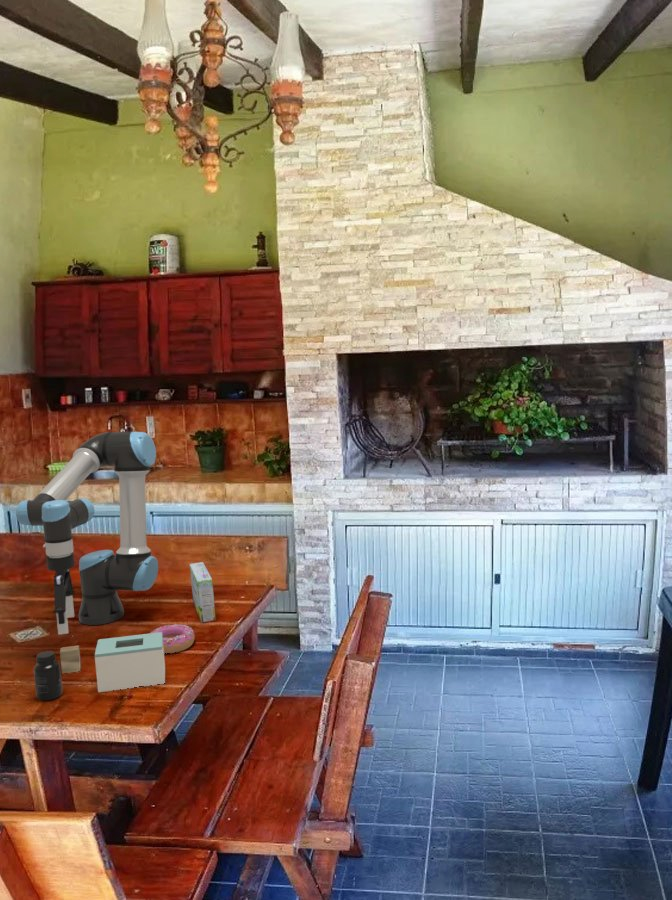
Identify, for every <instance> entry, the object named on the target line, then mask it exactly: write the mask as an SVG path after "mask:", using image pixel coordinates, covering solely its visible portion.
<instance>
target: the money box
mask: <svg viewBox="0 0 672 900" xmlns="http://www.w3.org/2000/svg"><path fill="white" fill-rule="evenodd" d="M96 643H97V644H96V647H95V652H94V662H95V664H94V665H95V674H96V683H97V684H96V685H97V692H98V693H103V692H112V691H113V690H114V691H120V689H121V690H128V689H127V688H129V689H134V687H137V688H140V687H139V686H144V687H151V686H150V685H152V686H158V685H157V684H160V685H165V684H166V663H165V662H166V660H165V654H164V647H163V635H162V632H158V633H151V632H150V633H143V634H134V635H133V634H132V635H125V636H119V637H118V636H117V637H109V638H100V639H98V640H97V642H96ZM164 683H165V684H164Z"/></svg>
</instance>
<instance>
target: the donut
mask: <svg viewBox="0 0 672 900" xmlns="http://www.w3.org/2000/svg"><path fill="white" fill-rule="evenodd" d="M158 632H162V635H163V647H164V655H166V654H167V653H170V654H176V653H180V652H183V651H185V650H187V649H189V648H190V647H191V646H192V645H193V644H194V641H195V639H196V637H195V632H194V630H193V627H192V626H188V625H186V624H177V623H176V624H175V623H173V624H172V623H171V624H165V625H162V626H160V627H157V628H155V629H153V630H151V631H150V633H158ZM175 652H176V653H175ZM165 653H166V654H165ZM167 655H168V654H167Z"/></svg>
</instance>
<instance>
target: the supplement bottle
mask: <svg viewBox="0 0 672 900" xmlns="http://www.w3.org/2000/svg"><path fill="white" fill-rule="evenodd" d="M35 658H36V665H34V667H33V676H34V685H35V696H36V699H38V700H39V701H41V702H42V701H43V702H44V701H54V700H56V699H57V698H59V697H60V696H62V694H63V691H64V690H63V681H62V669H61V663H59V662H58V661H57V660H56V653H55V652H54V651H52V650H46V651H42V652H39V653H38V654H37V655H36V657H35Z"/></svg>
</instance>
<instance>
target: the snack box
mask: <svg viewBox="0 0 672 900" xmlns="http://www.w3.org/2000/svg"><path fill="white" fill-rule="evenodd" d="M205 565H206V564H205V563H204V561H201V562H195V563H189V572H190V585H191V590H192V591H191V592H192V594H191V595H192V602H193V605H194V608H195V610H196V612H197V613H196V614H197V616H198V619H199V622H200V623H201V624H203V623H209V622H210V623H211V622H215V621H217V619H216V610H215V609H216V608H215V597H214V585H213V584H214V583H213V578H212V577H211V574H210V573H209V571H208V569H207V567H206V566H205Z"/></svg>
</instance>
